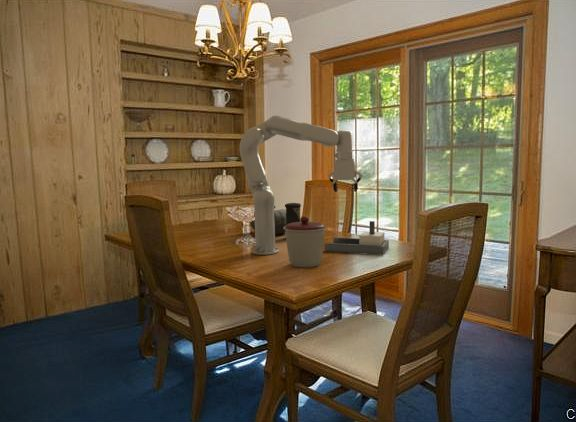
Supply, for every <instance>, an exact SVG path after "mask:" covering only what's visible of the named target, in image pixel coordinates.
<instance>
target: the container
mask: <svg viewBox="0 0 576 422" xmlns="http://www.w3.org/2000/svg"><path fill="white" fill-rule="evenodd" d="M284 207H285V210H286V225H287V224H289V223H294V222H301V220H300V219H301V207H302V205H301V203H299V202H288V203H285V205H284Z"/></svg>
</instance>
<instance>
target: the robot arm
mask: <svg viewBox="0 0 576 422" xmlns="http://www.w3.org/2000/svg"><path fill="white" fill-rule="evenodd" d="M277 135H278V136H282V137H286V138H290V139H294V140H298V141H305V142H306V141H308V142H313V143H317V144H321V145H322V146H324V147H333V146H335V147H336V153H335V154H333V158H335V159H334V163H333V164H334V166H333V171H332V172H331V173H329V174H328V175H327V178H328V180H329V181H330V182H331V184H332V185H333V186H332V187H333V188H332V189H333V191H334V193H337V192H338V183H337V182H338V181H351V180H352V181H353V182H354V183H353V192H356V193H357V191H358V189H359V188H358V187H359V186H358V184H359V183H360V181H361V180H362V178H363V176H364V174H363V173H362V172H359V171H358V170H357V169H356V162H355V158H353V133H352V131H351V130H349V129H347V130H346V129H342V130H338V131H336V130H334V129H331V128H328V127H324V126H319V125H315V124H310V123H307V122H303V121H299V120H296V119H292V118H290V117H289V118H287V117H284V116H280V115H272V116H270V117H269V118H268V119H266V120H265V121H263V122H261V123H260V124H258V125H257V126H253V127H250V128H248V129H247V130H246V132H244V134H243V136H242V138H241V140H240V143H239V154H240V155H239V156H240V158H241V162H242V165H243V168H244V171H245V175H246V176H245V177H246V181H247V183H248V186H249V189H250V191H251V192H250V193H251V195H252V197H253V203H254V204H253V205H254V206H253V208H254V210H253V211H254V212H253V213H254V217H255V230H254V242H255V243H254V244H255V247H254V248H252V250H251V252H252V253H253V254H254V255H259V256H260V255H261V256H262V255H263V256H264V255H265V256H266V255H274V254H277V253H279V249H278V248H277V247H276V235H275V222H274V211H275V208H274V206H275V194H274V192H273V191H272V188H271V187H270V183H269V181H268V178H267V173H266V170H265V168H264V166H263V163H262V160H261V157H260V154H259V146H260V145H261V144H262V143H264V142H266V141H268V140H270V139H272V138H274V137H275V136H277ZM357 175H358V178H357ZM332 176H333V177H332ZM333 178H334V179H333Z"/></svg>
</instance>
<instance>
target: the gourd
mask: <svg viewBox="0 0 576 422" xmlns="http://www.w3.org/2000/svg"><path fill="white" fill-rule="evenodd" d="M275 209H276V205H274V222H275V236H278V235H281V234H284V233H285V230H284V228H283V227H285V226H286V208H285V209H284V208H282V209H276V210H275ZM249 222H250V221H249ZM250 225H251V226H250V227H251V228H252V229H253V230H254V231H255V220H254V221H252V222H250Z"/></svg>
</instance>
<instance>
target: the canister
mask: <svg viewBox="0 0 576 422" xmlns="http://www.w3.org/2000/svg"><path fill="white" fill-rule="evenodd" d="M300 220H301V222H294V223H289V224H287V225H286V226H285V227H283V228H284V230H285V232H284V233H285V239H286V247H287V253H288V254H287V255H288V260H289V263H290V264H291V266H293V267H295V268H304V269H307V268H309V269H310V268H313V267H314V268H315V267H317V266H319V265H320V264H321V262H322V259H323V251H324V244H325V243H324V242H325V230H326V229H327V226H326V225H324V224H323V223H322V222H318V221H317V222H316V221H310V219H309V217H308V216H306V215H303V216H300Z"/></svg>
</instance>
